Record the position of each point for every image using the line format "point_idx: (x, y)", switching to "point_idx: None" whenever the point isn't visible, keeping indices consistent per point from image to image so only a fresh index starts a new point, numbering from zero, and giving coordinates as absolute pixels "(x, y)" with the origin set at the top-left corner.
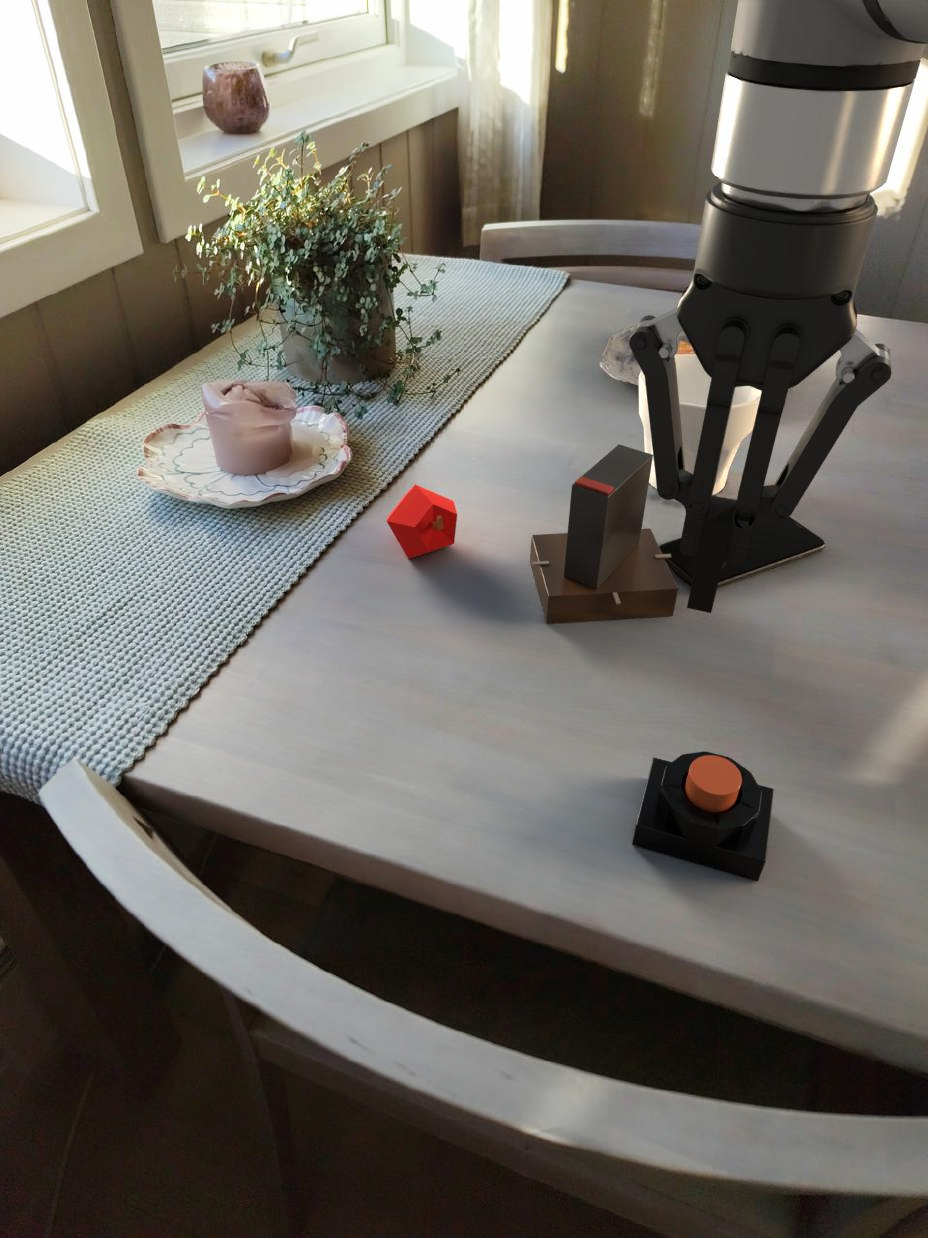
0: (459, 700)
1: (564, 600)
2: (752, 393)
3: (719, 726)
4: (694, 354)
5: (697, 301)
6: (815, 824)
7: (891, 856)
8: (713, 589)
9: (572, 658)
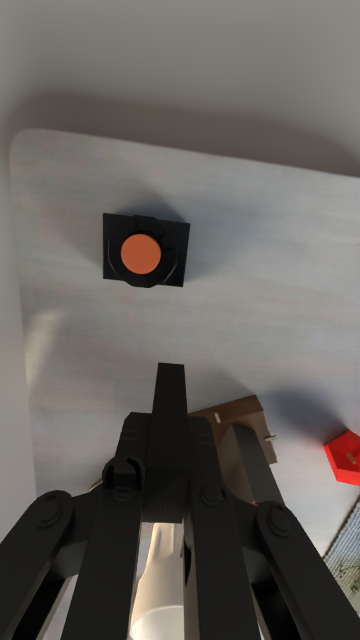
0: (307, 318)
1: (251, 410)
2: (140, 618)
3: (141, 335)
4: None
5: None
6: (78, 270)
7: (32, 256)
8: (159, 380)
9: (236, 369)
